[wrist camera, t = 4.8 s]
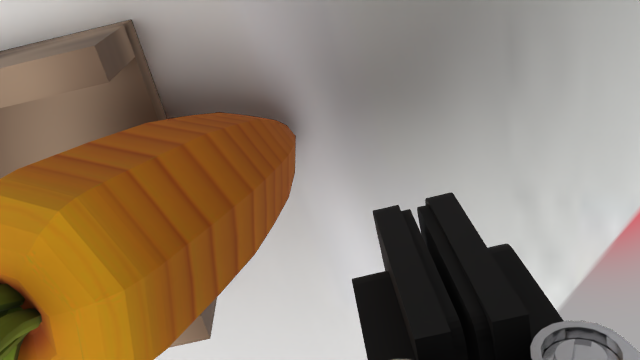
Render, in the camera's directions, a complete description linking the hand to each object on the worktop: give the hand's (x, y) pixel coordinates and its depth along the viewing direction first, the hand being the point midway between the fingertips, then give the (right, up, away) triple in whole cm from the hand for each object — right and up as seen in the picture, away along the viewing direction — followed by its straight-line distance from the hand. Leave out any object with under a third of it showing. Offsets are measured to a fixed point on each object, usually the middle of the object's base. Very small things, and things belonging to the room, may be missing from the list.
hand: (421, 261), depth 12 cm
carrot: (-3, +3, +8) cm, 9 cm away
